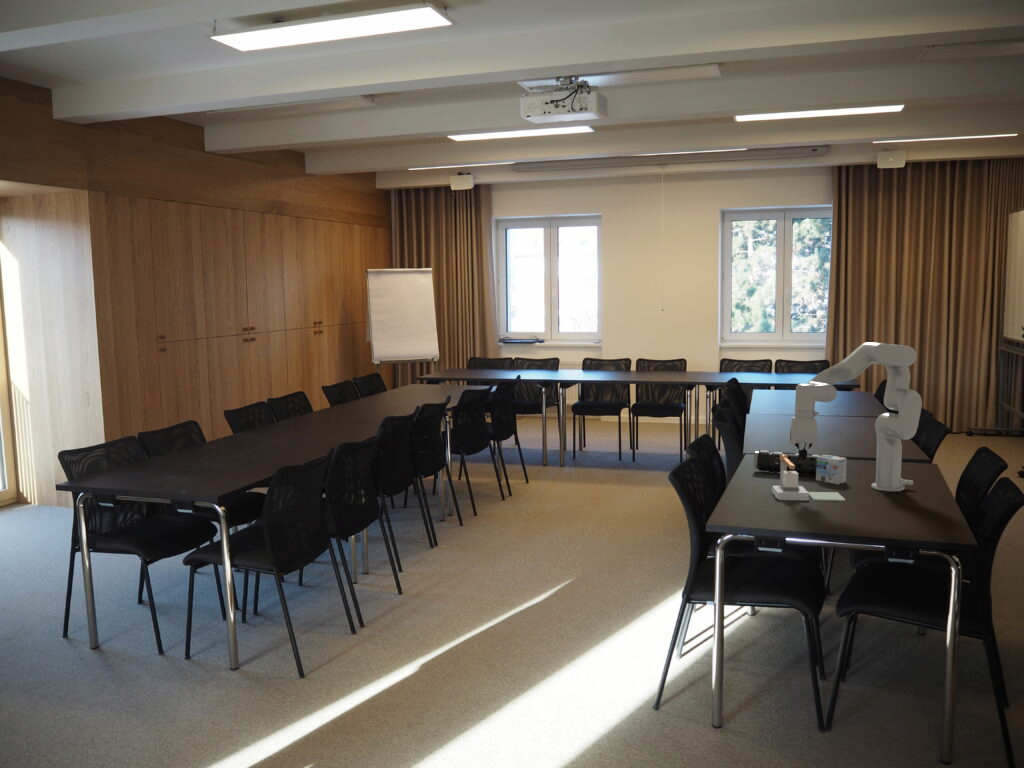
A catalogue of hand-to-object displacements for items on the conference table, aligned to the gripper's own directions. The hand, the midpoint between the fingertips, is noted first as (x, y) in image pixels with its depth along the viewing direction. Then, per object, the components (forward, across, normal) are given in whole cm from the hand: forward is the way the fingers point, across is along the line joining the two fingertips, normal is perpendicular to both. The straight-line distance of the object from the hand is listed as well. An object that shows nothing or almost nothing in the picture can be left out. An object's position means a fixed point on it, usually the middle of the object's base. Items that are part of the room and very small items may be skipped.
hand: (802, 459), depth 343 cm
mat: (+15, -9, +2) cm, 17 cm away
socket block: (+15, +5, -3) cm, 16 cm away
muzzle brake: (+15, -2, -40) cm, 43 cm away
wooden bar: (+3, +5, -3) cm, 7 cm away
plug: (+15, +5, +2) cm, 16 cm away
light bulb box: (+14, -18, -27) cm, 35 cm away
